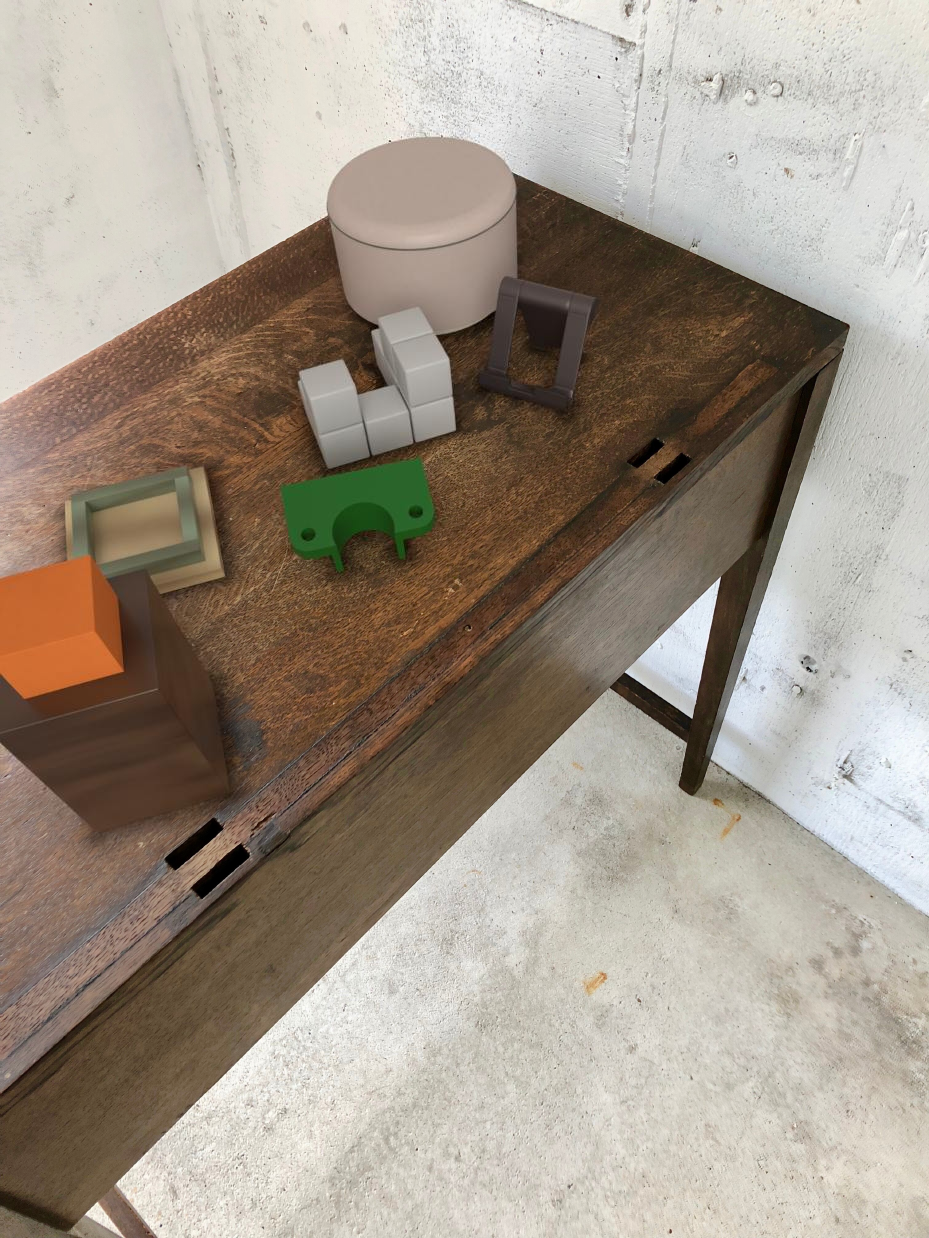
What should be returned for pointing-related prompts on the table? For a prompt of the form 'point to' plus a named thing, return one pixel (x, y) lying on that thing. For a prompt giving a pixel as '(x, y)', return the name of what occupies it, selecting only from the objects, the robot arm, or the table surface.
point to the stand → (126, 723)
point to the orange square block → (58, 627)
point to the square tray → (149, 528)
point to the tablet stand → (539, 338)
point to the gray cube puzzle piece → (382, 394)
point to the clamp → (358, 508)
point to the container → (425, 230)
